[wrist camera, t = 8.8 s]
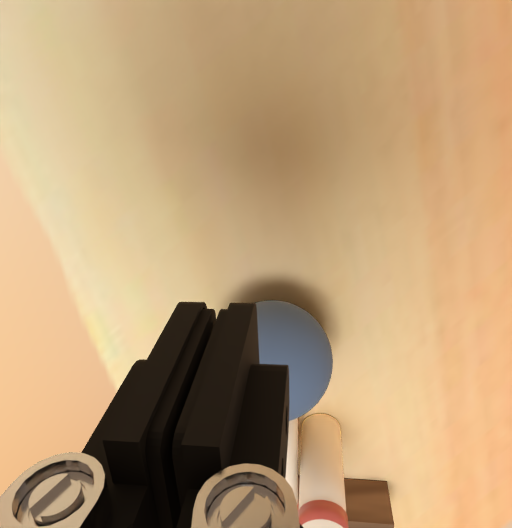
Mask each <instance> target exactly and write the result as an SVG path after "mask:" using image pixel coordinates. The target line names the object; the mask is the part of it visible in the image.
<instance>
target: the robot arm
mask: <svg viewBox="0 0 512 528" xmlns="http://www.w3.org/2000/svg"><path fill="white" fill-rule="evenodd" d="M288 433H289V366H288V365H277V364H260V361H259V341H258V321H257V307H256V304H255V303H230V305H229V307H228V309H221V310H220V311H219V314H218V317H217V319H216V315H215V310H214V309H207V306H206V304H205V302H179V303H178V304H177V306H176V308H175V310H174V312H173V313H172V315H171V317H170V319H169V321H168V322H167V324H166V326H165V328H164V330H163V331H162V333H161V335H160V337H159V339H158V340H157V342H156V344H155V346H154V348H153V349H152V351H151V353H150V355H149V357H148V358H147V360H138V361H136V362H135V364H134V365H133V366H132V368H131V370H130V371H129V373H128V375H127V376H126V378H125V380H124V381H123V383H122V385H121V386H120V388H119V390H118V392H117V393H116V395H115V397H114V398H113V400H112V402H111V403H110V405H109V407H108V409H107V410H106V412H105V414H104V415H103V417H102V419H101V421H100V422H99V424H98V426H97V427H96V429H95V431H94V432H93V434H92V436H91V438H90V439H89V441H88V442H87V444H86V446H85V448H84V449H83V451H82V453H72V452H71V453H70V452H69V453H64V454H59V455H55V456H52V457H49V458H47V459H45V460H42V461H40V462H38V463H37V464H35V465H34V466H32V467H30V468H29V469H27V470H26V471H25V472H24V473H22V474H21V475H20V476H19V477H18V478H17V479H16V480H15V481H14V482H13V483H12V484H11V485H10V486H9V487H8V489H7V490H6V491H5V492H4V493H3V494H2V495H1V497H0V528H304V527H303V526H302V525H301V524H300V523H299V516H298V509H297V502H296V499H295V495H294V492H293V489H292V487H291V486H290V485H289V483H288V482H287V481H286V479H285V477H286V463H287V448H288Z"/></svg>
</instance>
